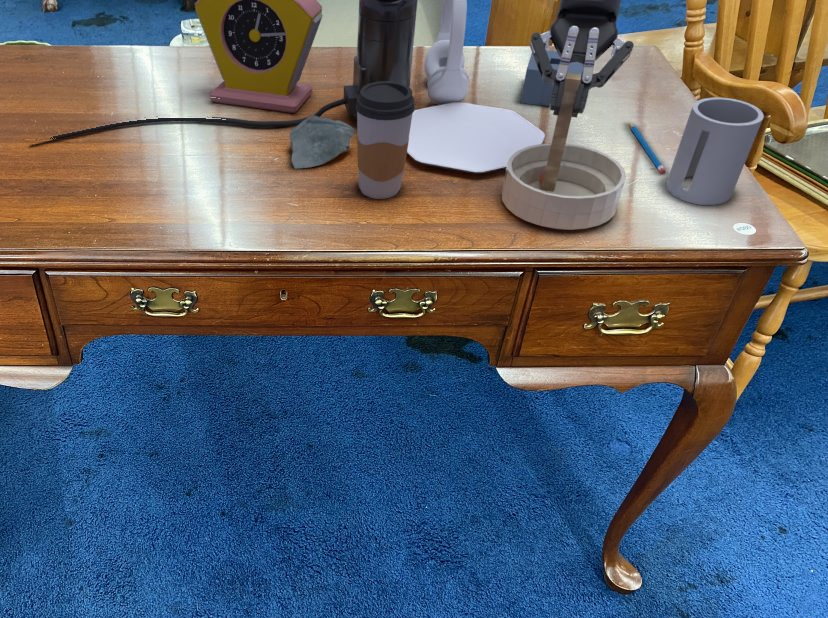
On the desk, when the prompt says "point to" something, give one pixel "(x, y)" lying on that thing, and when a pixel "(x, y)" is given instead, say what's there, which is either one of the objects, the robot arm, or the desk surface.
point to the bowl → (563, 187)
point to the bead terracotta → (541, 178)
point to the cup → (714, 150)
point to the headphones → (448, 56)
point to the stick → (561, 131)
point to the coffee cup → (383, 136)
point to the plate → (469, 137)
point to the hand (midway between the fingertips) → (565, 113)
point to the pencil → (648, 149)
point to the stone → (319, 141)
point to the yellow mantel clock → (260, 49)
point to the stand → (538, 89)
